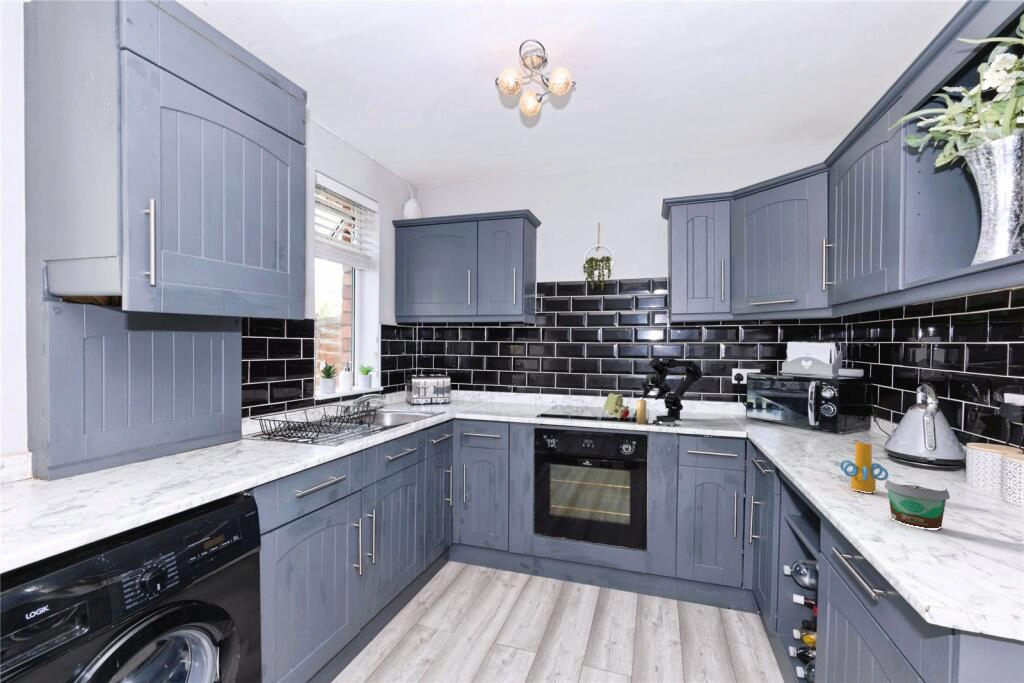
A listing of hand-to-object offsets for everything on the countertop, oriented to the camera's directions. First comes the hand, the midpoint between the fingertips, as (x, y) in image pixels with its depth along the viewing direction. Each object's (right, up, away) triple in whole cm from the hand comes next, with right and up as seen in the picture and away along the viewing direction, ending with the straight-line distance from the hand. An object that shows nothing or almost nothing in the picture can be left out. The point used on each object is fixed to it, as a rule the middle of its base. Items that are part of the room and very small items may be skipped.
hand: (649, 398), depth 253 cm
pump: (-6, -13, -5) cm, 16 cm away
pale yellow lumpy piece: (-15, -14, +11) cm, 23 cm away
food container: (+22, -14, -143) cm, 146 cm away
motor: (+7, -14, -7) cm, 17 cm away
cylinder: (+30, -14, -117) cm, 121 cm away
